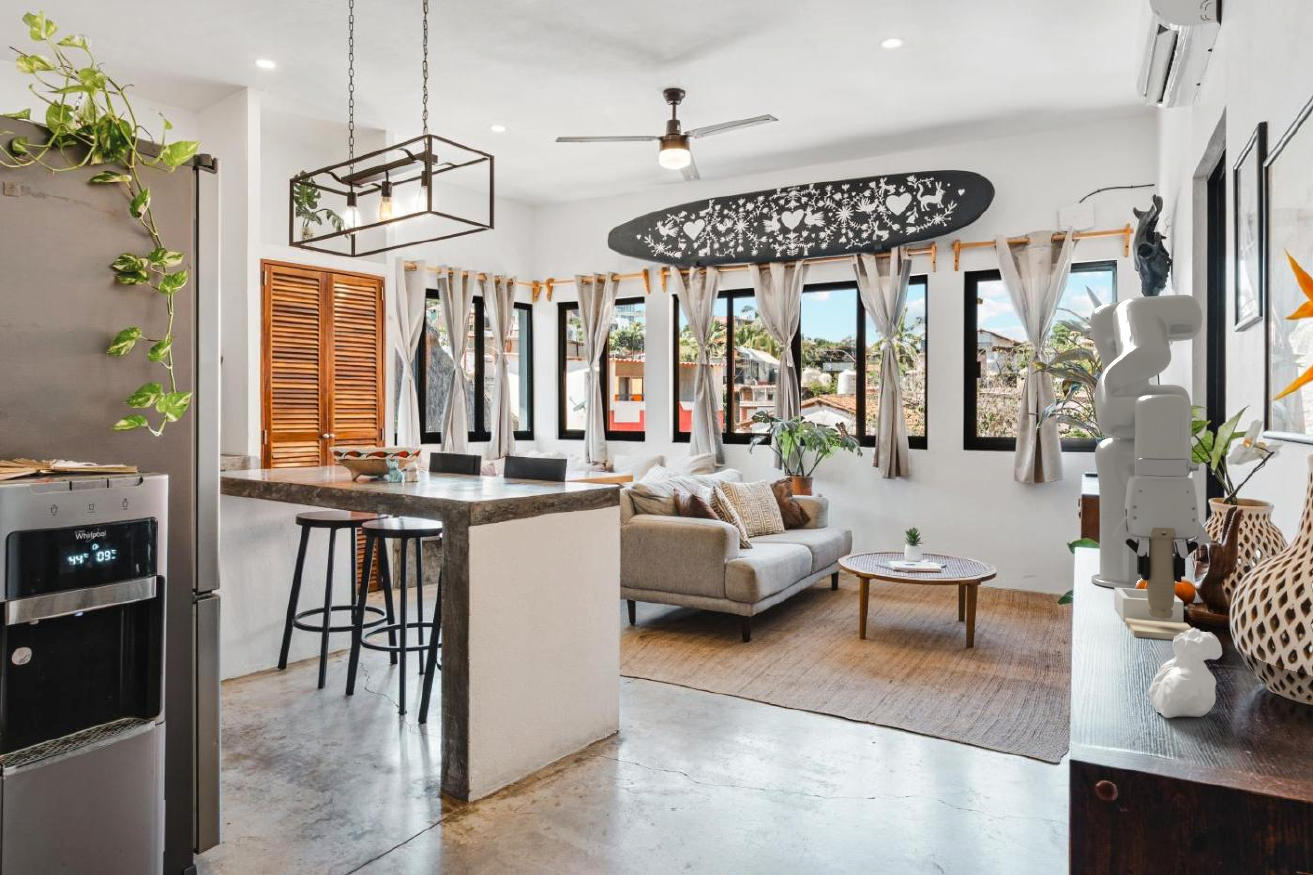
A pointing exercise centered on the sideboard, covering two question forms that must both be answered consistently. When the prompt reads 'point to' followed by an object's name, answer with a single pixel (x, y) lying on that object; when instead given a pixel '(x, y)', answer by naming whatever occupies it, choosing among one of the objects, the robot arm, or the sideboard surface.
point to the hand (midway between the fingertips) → (1160, 578)
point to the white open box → (1141, 605)
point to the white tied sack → (1187, 676)
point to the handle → (1161, 573)
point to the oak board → (1156, 628)
